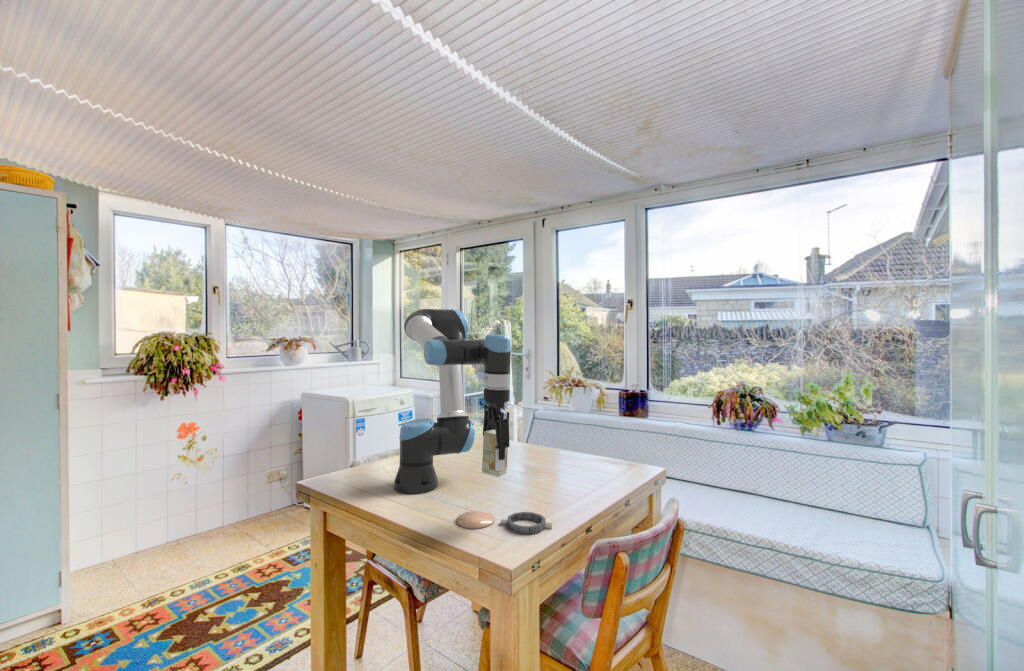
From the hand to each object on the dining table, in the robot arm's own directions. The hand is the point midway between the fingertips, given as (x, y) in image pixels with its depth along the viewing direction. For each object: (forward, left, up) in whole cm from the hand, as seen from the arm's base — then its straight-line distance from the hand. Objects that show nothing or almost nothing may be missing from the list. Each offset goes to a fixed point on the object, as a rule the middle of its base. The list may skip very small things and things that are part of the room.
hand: (494, 466), depth 132 cm
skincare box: (0, 0, -2) cm, 2 cm away
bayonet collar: (+10, -1, -16) cm, 19 cm away
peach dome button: (-5, 0, -16) cm, 17 cm away
